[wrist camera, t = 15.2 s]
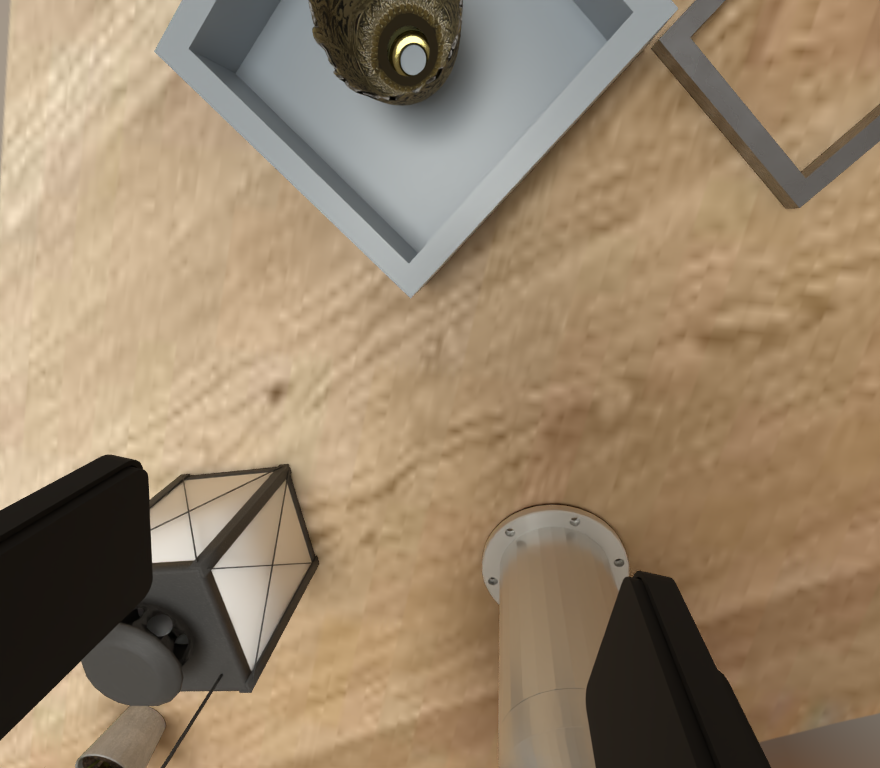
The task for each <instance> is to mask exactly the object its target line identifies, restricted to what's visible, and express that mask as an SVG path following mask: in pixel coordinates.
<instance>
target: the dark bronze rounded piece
mask: <svg viewBox="0 0 880 768" xmlns="http://www.w3.org/2000/svg"><path fill="white" fill-rule="evenodd" d="M308 1H309V8H310V12H311V15H312V20H313V24H314V27H313V28H312V33H313V37H314V39H315V41H316V42H317V44H318V45H320V46H321V47H322V48H323V49H324V50H325V52H326V55H327V57H328V61H329V63H330V64H331V65H332V66H333V68H334V69H335V70H334V71H333V73H334V74H335V75H336V77H338V78H339V79H340V80H341V81H343V82H344V83H345V84H346V85H347V87H348V88H350V89H351V90H353V91H354V92H356V93H359V94H362V95H365V96H368V97H370V98H372V99H375V100H377V101H380V102H383V103H386V104H391V105H400V106H404V105H412V104H416V103H419V102H422V101H424V100H426V99H427V98H429V97H430V96H432V95H433V94H434V93H436V92H437V91H438V90H439V89H440V88H441V87H442V85H443V84H444V83H445V81H446V80H447V78H448V77H449V75H450V73H451V71H452V69H453V66H454V64H455V61H456V58H457V54H458V50H459V44H460V37H461V25H462V12H463V0H308ZM409 45H418V46H419V47H421V48H422V49H423V51H424V53H425V56H426V64H425V67H424V69H423V70H422V71H421V72H420V73H418V74H416V75H410V74H407V73H406V72H405V71H404V70H403V68H402V66H401V62H400V58H401V54H402V52H403V50H404V49H405V48H406V47H407V46H409Z"/></svg>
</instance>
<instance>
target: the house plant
mask: <svg viewBox="0 0 880 768" xmlns="http://www.w3.org/2000/svg"><path fill="white" fill-rule="evenodd" d="M165 725H166V724H165V721H164V719H163V717H162V716H161V715H160V714H159V713H158V712H157V711H156V710H154V709H152V708H150V707H148V706H130V707H128V708H127V709H126V710H125V711H124V712H123V713H122V714H121V715H120V716H119V717H118V719H117V720H116V721H115V722H114V723H113V724H112V725H111V726H110V727H109V728H108V729H107V730H106V731H105V732H104V733H103V734H102V735H101V736H100V737H99V738H98V739H97V740H96V741H95V742H94V743H93V744H92V745H91V746H90V747H89V748H88V749H87V750H86V751H85V752H84V753H83V754H82V755H81V756H80V757H79V758H78V759H77V762H76V764H75V768H146V766H147V764H148V762H149V760H150V758H151V756H152V754H153V752H154V750H155V748H156V746H157V744H158V742H159V740H160V738H161V736H162V734H163V732H164V729H165Z"/></svg>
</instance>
